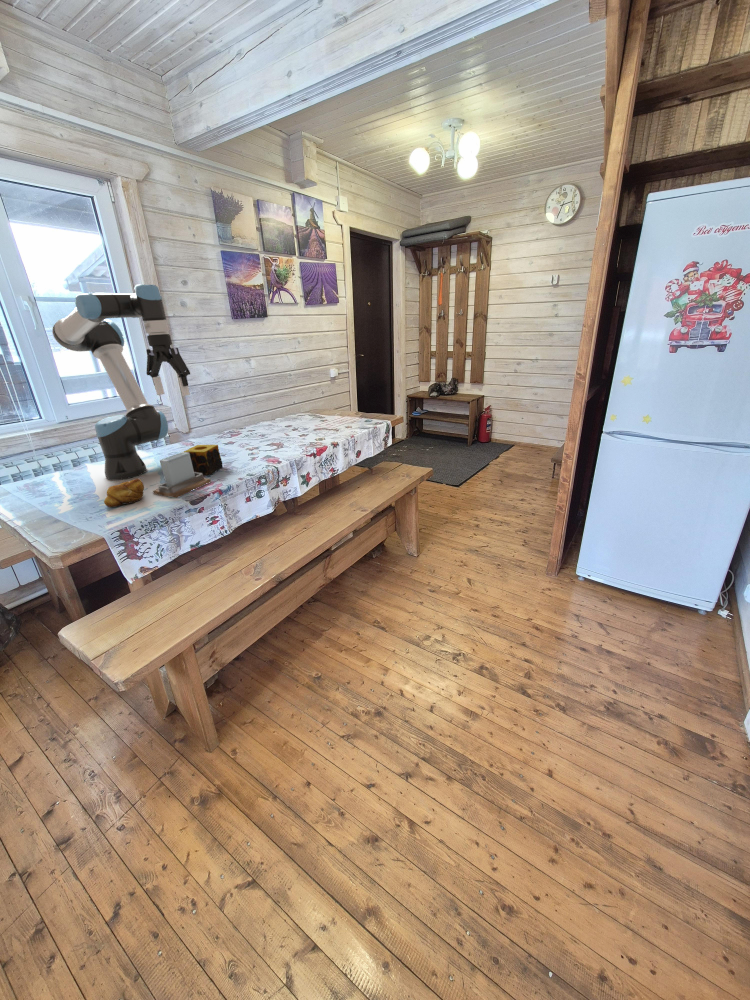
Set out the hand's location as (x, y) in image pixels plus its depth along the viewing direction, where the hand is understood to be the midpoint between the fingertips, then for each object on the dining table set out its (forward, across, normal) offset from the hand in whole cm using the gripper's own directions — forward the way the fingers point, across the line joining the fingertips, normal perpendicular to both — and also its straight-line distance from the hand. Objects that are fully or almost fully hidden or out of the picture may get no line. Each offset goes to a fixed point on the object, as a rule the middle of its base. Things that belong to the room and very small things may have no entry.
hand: (173, 395), depth 156 cm
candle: (+32, +2, +5) cm, 32 cm away
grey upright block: (+30, +8, -12) cm, 34 cm away
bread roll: (+32, -2, -28) cm, 43 cm away
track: (+32, +8, -12) cm, 35 cm away
